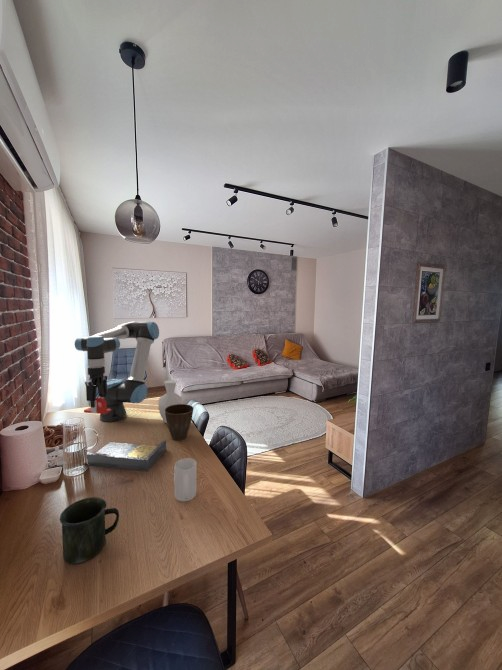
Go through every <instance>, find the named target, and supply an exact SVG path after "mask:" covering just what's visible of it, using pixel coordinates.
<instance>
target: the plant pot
mask: <svg viewBox="0 0 502 670" xmlns="http://www.w3.org/2000/svg"><path fill="white" fill-rule="evenodd" d="M193 413H194V406H192V405H190V404H184V403H182V404H177V405H172V406H169V407H167V408H166V409H165V415H166V421H167V423H166V425H167V427H168V431H169V433H170V436H171V439H172V440H173V441H182V440H185V439H186V437H187V435H188V433H189V430H190V426H191V424H192V419H193Z"/></svg>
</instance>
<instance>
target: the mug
mask: <svg viewBox="0 0 502 670" xmlns="http://www.w3.org/2000/svg"><path fill="white" fill-rule="evenodd" d="M110 514H111V515H112V514H114V515H115V516H116V517H115V519H114V521H113V524H111V526H109V527H107V528H106V515H110ZM119 518H120V511H119V509H118V508H116V507H110V508H107V502H106V500H105V499H104V498H102V497H100V496H99V497H98V496H91V497H85V498H82V499H79V500H76V501H74V502H73V503H71V504H70V505H68V506H67V507H66V508H65V509H63V511H62V512H61V513H60V516H59V523H60V524H61V534H62V535H61V536H62V537H61V538H62V556H63V559H64V561H65V562H67V563H69V564H74V565H76V564H82V563H85V562H87V561H89V560H91V559H93V558H94V557H96V556H97V555H98V554H99V553H100V552H101V550H102V549H103V548H104V546H105V545H106V541H107V539H106V535H109V534H110V533H111V532H113V531H114V530H115V529H116V527H118V523H119V520H120V519H119Z"/></svg>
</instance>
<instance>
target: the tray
mask: <svg viewBox="0 0 502 670" xmlns="http://www.w3.org/2000/svg"><path fill="white" fill-rule="evenodd" d="M166 451H167V440H166V439H163V440H162V441H160V443H159V444H158V445H156V446H155V445H148V444H147V445H146V444H145V445H144V444H137V443H136V444H135V443H123V442H113V441H110V442H108V443H107V444H105V445H104V446H103V447H101V448H100V449H99V450H97V451H96V452H87V451H86V452H87V459H88V464H89V465H88V466H91V467H92V466H93V467H102V468H112V469H121V470H122V469H123V470H132V471H140V472H149V470H151V468H152V467H153V466H154V465H155V464H156V463H157V461H158V460H160V458H161V457H162V456H163V454H164V453H165V452H166Z"/></svg>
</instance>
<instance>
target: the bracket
mask: <svg viewBox="0 0 502 670" xmlns="http://www.w3.org/2000/svg"><path fill="white" fill-rule="evenodd" d="M96 400H97V413H96V414H98V415H100V414H107V413H109V412H110V411H111V409H107V403H106V401H105V400H104V399H103V398H98V397H96ZM98 402H100V403H101V404H102V406H101V407H99V406H98ZM83 413H85V414H86V413H89V414H92V413H91V406H90V407H88V408H86V409H84V410H83Z"/></svg>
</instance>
